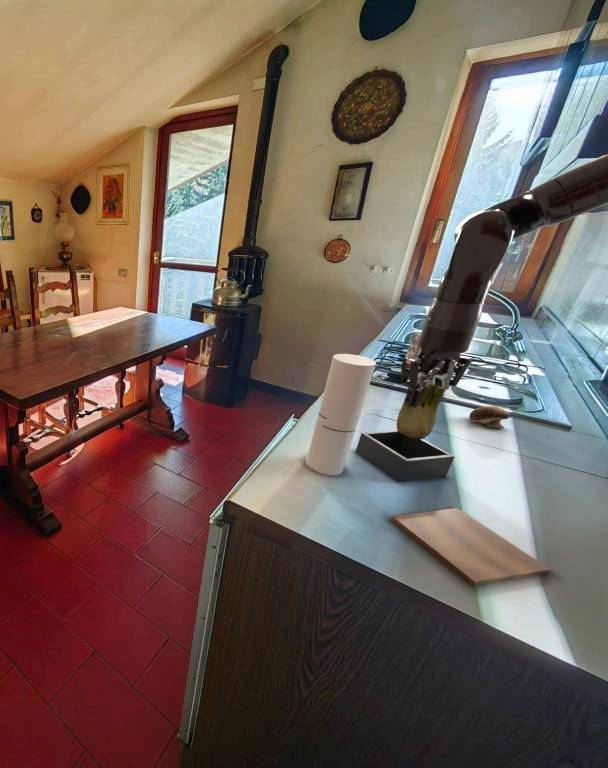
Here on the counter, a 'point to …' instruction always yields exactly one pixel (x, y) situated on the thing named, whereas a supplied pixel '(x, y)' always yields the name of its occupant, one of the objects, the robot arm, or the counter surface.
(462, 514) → the board
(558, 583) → the counter surface
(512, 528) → the counter surface
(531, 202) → the robot arm
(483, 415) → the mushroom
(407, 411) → the fennel bulb
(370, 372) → the cylindrical container
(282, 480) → the counter surface
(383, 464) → the bin
